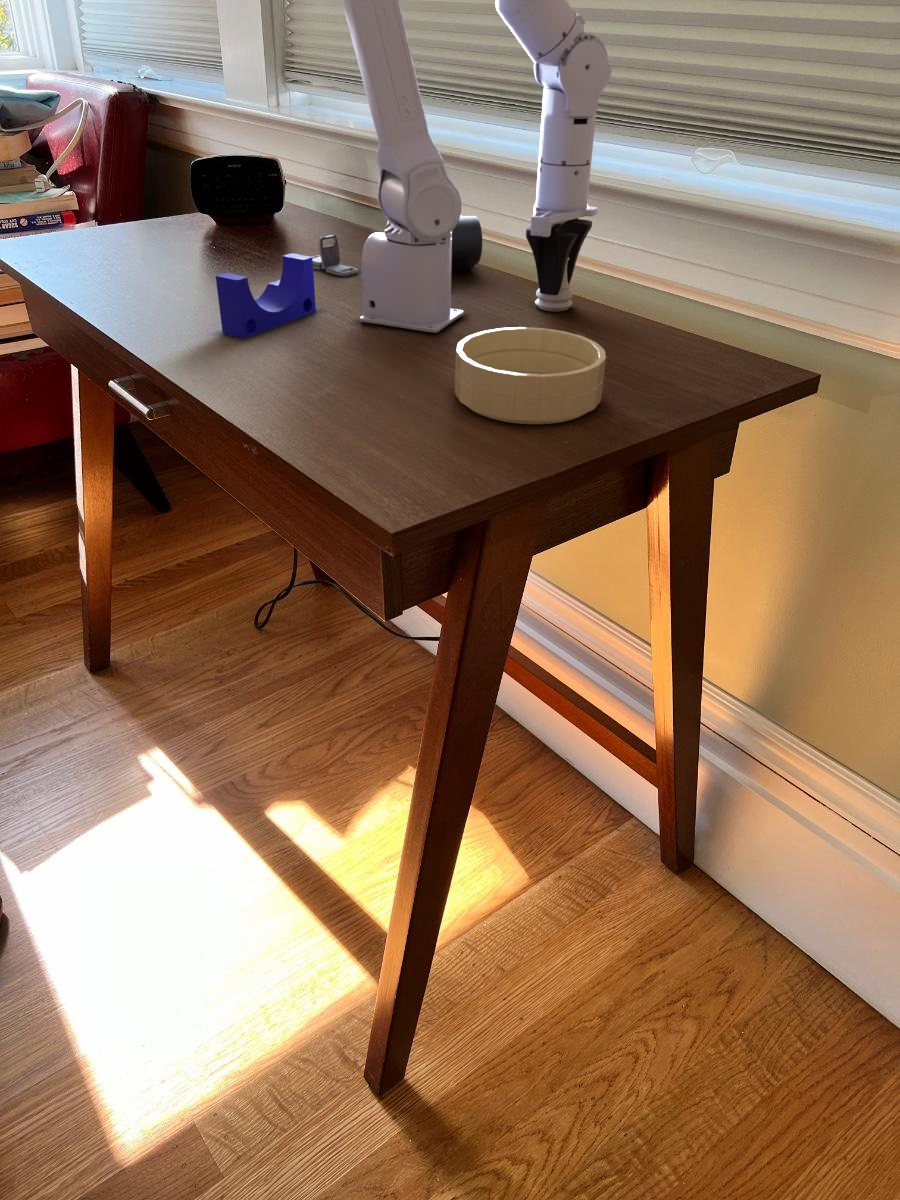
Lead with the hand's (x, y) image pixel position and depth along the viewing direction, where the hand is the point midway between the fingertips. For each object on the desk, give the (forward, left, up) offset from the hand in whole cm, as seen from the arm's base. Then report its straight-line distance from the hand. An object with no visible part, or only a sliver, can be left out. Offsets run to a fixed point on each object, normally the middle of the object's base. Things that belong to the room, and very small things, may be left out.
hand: (554, 289), depth 106 cm
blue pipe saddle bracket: (-27, -20, -2) cm, 34 cm away
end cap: (-19, +9, -2) cm, 21 cm away
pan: (+7, -29, -2) cm, 30 cm away
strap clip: (-32, +3, -2) cm, 32 cm away
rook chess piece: (0, 0, -2) cm, 2 cm away
